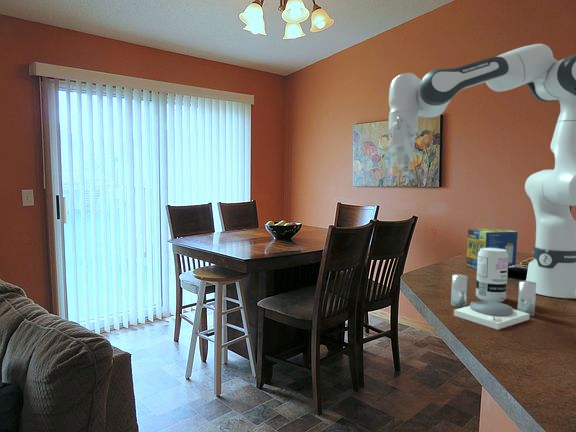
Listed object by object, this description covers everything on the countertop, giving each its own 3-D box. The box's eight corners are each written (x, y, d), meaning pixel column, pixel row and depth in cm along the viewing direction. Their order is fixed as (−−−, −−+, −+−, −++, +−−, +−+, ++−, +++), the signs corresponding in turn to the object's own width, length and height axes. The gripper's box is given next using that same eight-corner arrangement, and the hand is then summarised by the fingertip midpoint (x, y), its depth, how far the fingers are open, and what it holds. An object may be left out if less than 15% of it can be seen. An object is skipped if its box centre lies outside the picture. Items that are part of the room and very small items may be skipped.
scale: (485, 307, 117) (485, 298, 116) (529, 319, 106) (529, 309, 106) (453, 315, 109) (454, 306, 109) (497, 329, 99) (498, 319, 99)
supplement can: (479, 293, 130) (482, 246, 129) (508, 298, 125) (511, 249, 124) (472, 299, 124) (474, 249, 123) (502, 304, 119) (505, 252, 118)
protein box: (465, 266, 172) (467, 228, 171) (496, 264, 176) (498, 228, 175) (483, 271, 162) (485, 232, 161) (516, 269, 166) (518, 231, 165)
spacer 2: (522, 310, 114) (524, 280, 113) (537, 314, 111) (539, 283, 110) (514, 312, 112) (515, 281, 111) (529, 317, 108) (531, 285, 108)
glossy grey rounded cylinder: (456, 302, 121) (458, 273, 120) (469, 306, 118) (470, 276, 117) (447, 304, 119) (449, 275, 118) (460, 308, 115) (461, 278, 115)
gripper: (409, 111, 119) (409, 158, 117) (417, 134, 137) (417, 175, 135) (387, 114, 121) (386, 160, 119) (398, 136, 140) (397, 177, 138)
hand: (403, 168), depth 127 cm, fingers open, 8 cm apart
